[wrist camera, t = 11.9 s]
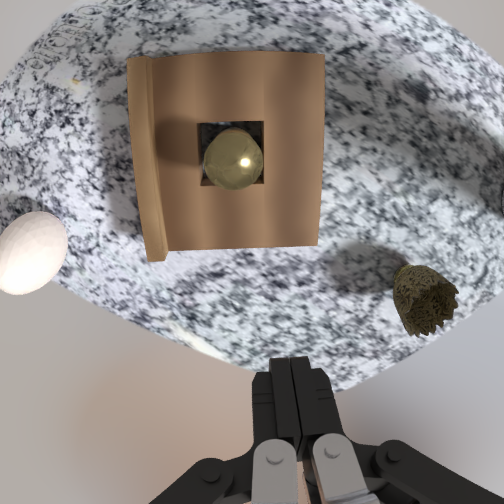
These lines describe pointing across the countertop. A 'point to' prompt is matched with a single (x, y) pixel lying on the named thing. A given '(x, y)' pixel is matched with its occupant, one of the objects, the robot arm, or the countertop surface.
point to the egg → (31, 252)
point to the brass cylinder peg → (233, 159)
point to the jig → (190, 149)
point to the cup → (423, 299)
